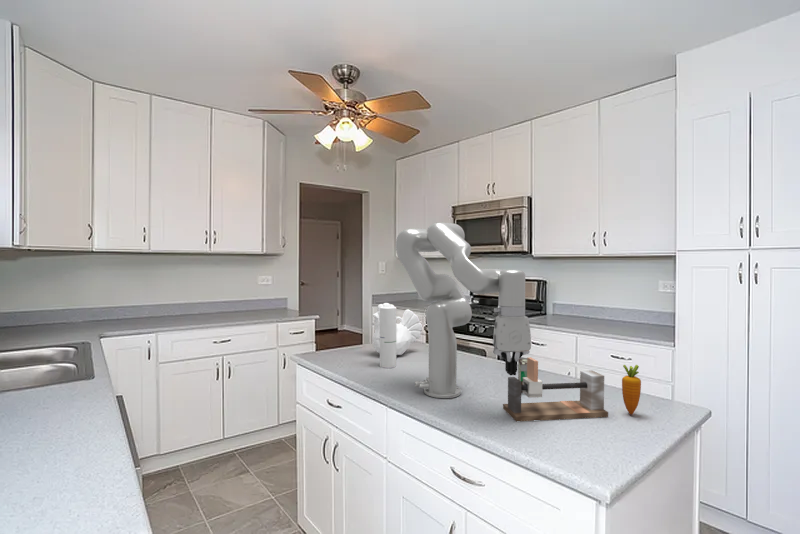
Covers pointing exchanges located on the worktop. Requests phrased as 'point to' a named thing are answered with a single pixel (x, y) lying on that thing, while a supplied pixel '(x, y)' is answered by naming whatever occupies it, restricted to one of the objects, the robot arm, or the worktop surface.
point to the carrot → (631, 389)
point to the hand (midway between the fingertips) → (511, 374)
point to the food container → (522, 369)
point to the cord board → (585, 408)
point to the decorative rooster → (399, 330)
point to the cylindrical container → (388, 336)
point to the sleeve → (532, 379)
